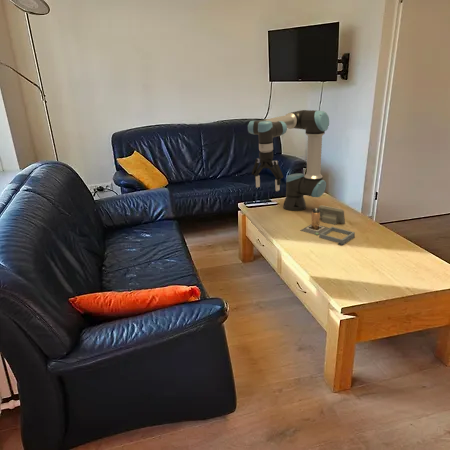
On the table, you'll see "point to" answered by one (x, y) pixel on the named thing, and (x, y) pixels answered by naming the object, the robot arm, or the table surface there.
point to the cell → (315, 219)
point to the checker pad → (315, 232)
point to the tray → (339, 241)
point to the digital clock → (331, 215)
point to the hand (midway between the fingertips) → (267, 188)
